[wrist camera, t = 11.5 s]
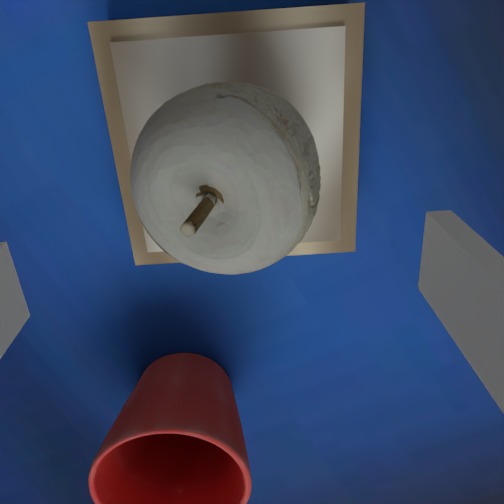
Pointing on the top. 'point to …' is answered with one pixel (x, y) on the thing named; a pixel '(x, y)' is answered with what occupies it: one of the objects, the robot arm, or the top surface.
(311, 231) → the plinth
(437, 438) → the top surface
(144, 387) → the flower pot
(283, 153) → the decorative object
